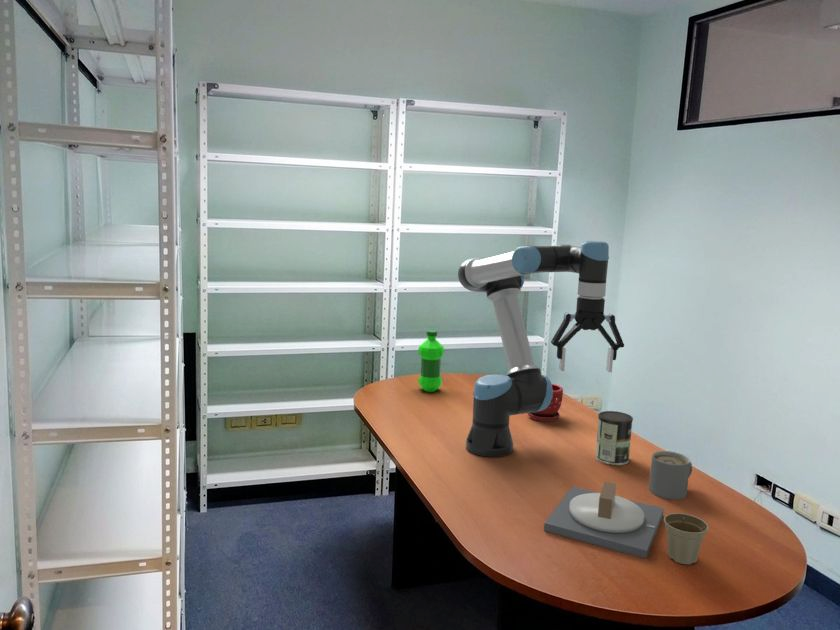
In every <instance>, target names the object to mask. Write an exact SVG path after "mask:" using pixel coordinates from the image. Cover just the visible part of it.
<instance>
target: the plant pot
mask: <svg viewBox="0 0 840 630" xmlns="http://www.w3.org/2000/svg"><path fill="white" fill-rule="evenodd" d="M551 384H552V389H553V395H552V400H551V402H550V405H549V406H548V407H547V408H546V409H545V410H542V411H538V412H535V413H527V416H529V418H531V419H533V420H535V421H539V422H548V423H550V422H552V421H553V422H554V421H556V420H558V419H559V418H560V412H559V410H560V409H561V407H562V402H563V394H564V388H563V387H562V386H560V385H558V384H554V383H551Z"/></svg>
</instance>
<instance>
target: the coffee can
mask: <svg viewBox="0 0 840 630" xmlns="http://www.w3.org/2000/svg"><path fill="white" fill-rule="evenodd" d="M597 417H598V422H597V433H596V446H595V447H596V449H595V456H594V457H596V458H595V459H596V460H597V461H598V460H599V461H598V462H601V463H602V462H603V463H602V464H605V463H606V464H605V465H610V464H611V466H623V465H624V466H625V465H627V464H629V462H630V450H631V440H632V439H631V438H632V427H633V421H634V417H633V416H632V415H630V414H628V413H626V412H625V413H624V412H622V411H615V410H606V411H601V412H599V413H598V415H597Z"/></svg>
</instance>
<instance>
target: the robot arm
mask: <svg viewBox="0 0 840 630" xmlns="http://www.w3.org/2000/svg"><path fill="white" fill-rule="evenodd" d="M609 250H610V247H609V244H608V243H607V242H606V241H598V240H597V241H596V240H584V241H582V242H581V245H580V246H575V245H571V244H557V245H524V246H518V247H516V248H515V250H513V251H510V252H506V253H502V254H498V255H494V256H490V257H472V258H468V259H465V261H463V262H462V263H460V265H459V268H458V271H457V277H458V278H457V279H458V281H459V283H460V285H461V286H462V287H464V289H466V290H467V291H470V292H474V293H485V294H486V298H487V300H488V301H489V302H491V303H492V304H493V308H494V312H495V316H496V322H497V325H498V331H499V333H500V334H499V335H500V338H501V344H502V347H503V351H504V356H505V360H506V365H507V368H508V371H507V372H506V374H501V373H500V374H499V373H497V374H487V375H484V376H483V375H482V376H481V377H479V378H478V379H476V381H475V383H474V386H473V387H474V388H473V391H472V392H473V393H472V395H473V400H472V401H473V405H472V407H473V408H472V423H471V427H470V429H469V432H468V434H467V437H466V441H465V447H466V450H467V451H469V452H470V453H471V454H474V455H478V456H480V457H489V458H492V457H493V458H499V457H505V456H509V455H510V454H512V453H513V451H514V441H513V437H512V434H511V433H512V432H511V429H510V417H511V416H516V415H521V414H522V415H524V414H528V413H535V412H538V411H542V410H545V409H546V408H547V407H548V406H549V405H550V402H551V400H552V395H553V389H552V384H553V383H552V382H551V380H550V379H549V377H548V376H546V375H544V374H542V372H541V368H540V367H539V366H537V365H536V364H535V361H534V359H533V355H532V350H531V347H530V341H529V337H528V334H527V330H526V326H525V321H524V316H523V313H522V308H521V304H520V301H519V296H520V294H521V292H522V290H521V289H522V288H523V286H524V283H525V275H531V274H538V273H576V274H578V283H577V284H578V286H577V295H578V297H577V298H576V307H575V308H576V310H575V313H573V314H572V313H570V312H569V313H568V312H565V313H564V315H563V320H562V322H561V323H560V325H559V327H558V329H557V330H556V332H555V334H554V335H553V337H552V338H551V342H550V343H551V345H553V346H554V347H557V349H556V358H557V359H558V360H559V370H560V371H561V372H565V362H566V351H567V349H566V348H565V346H566V345H567V344H568V343H569V342H570V340H572V338H574V337H575V335H576V334H578V333H579V332H580V331H581V330H584V331H589V330H591V331H596V330H597V331H599V332H600V334H601V335H602V337H603V338H604V340H606V342H607V343H608V344H609V346H610V347H607V357H606V367H605V368H606V371H607V372H608V373H612V372H613V363H614V361H616V360H617V354H618V353H617V352H618V350H619V349H620V348H624V347H625V343H624V341H623V339H622V336H621V333H620V331H619V328H618V327H617V324H616V317H615V315H614V314H612V313H609V314H605V301H606V299H605V297H606V292H607V291H606V290H607V288H606V287H607V277H608V266H609V259H610V255H609ZM573 320H575V323H574V325H572V328H570V329H569V330H568V332H566V330H567V328H568V327H569V325H570V323H571V322H572V321H573ZM604 321H606V322H607V323H608V326H609V327H610V329H611V332H612V334H613V337H614V339H615V341H614V340H613V338H612V336H610V334H609V333H608V332H607V331H606V328H604V326H603V325H602V324H603V323H604ZM565 332H566V333H565ZM564 334H565V335H564ZM563 335H564V336H563Z"/></svg>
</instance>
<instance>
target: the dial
mask: <svg viewBox="0 0 840 630" xmlns="http://www.w3.org/2000/svg"><path fill="white" fill-rule="evenodd" d="M616 489H617V483H614V482H610V481H603V484H602V488H601V491H600V492H597V493H587V494H581V495H578V496H576V497H574V498H573V499H572V500H571V501H570V506H569V512H570V514H571V516H572V517H573V518H574V519H575V520H576V521H577V522H579V523H581V524H582V525H584V526H587V527H589V528H592V529H595V530H599V531H604V532H610V533H626V532H632V531H635V530H637V529H639V528H640V527H642V525H643V523H644V512H643V510H642V509H641V508H640V507H639V506H638V505H636V504H635V503H633V502H631V501H632V500H631V501H629V500H630V499H627V498H624V497H622V496H618V495H616Z"/></svg>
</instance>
